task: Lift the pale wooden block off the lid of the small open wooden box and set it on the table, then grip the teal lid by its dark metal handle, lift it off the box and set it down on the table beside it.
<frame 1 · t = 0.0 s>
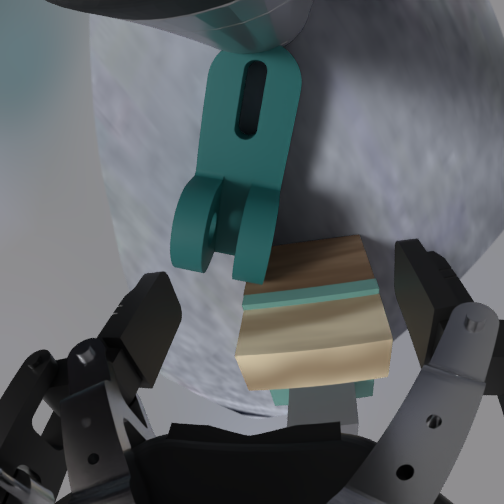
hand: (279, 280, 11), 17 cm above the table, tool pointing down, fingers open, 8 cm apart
pale wooden block: (314, 322, 23), point 8 cm above the table, touching lid
bracket: (246, 147, 25), on the table, touching arm, open wooden box
open wooden box: (314, 299, 33), on the table
lid: (318, 349, 27), point 7 cm above the table, touching pale wooden block, open wooden box
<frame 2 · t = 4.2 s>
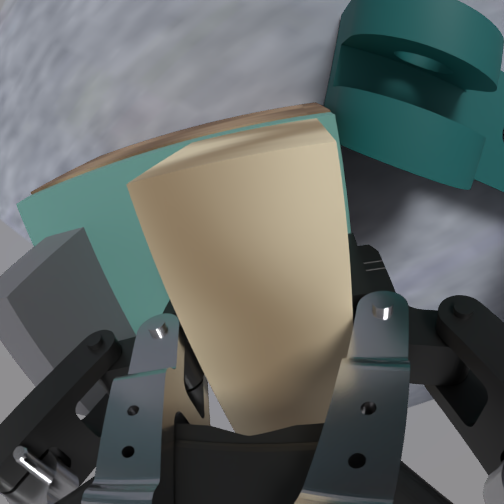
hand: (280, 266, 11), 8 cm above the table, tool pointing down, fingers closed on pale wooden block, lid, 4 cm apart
pale wooden block: (281, 267, 12), point 8 cm above the table, touching gripper, lid
bracket: (468, 117, 15), on the table, touching arm, open wooden box
open wooden box: (215, 204, 20), on the table
lid: (181, 264, 14), point 7 cm above the table, touching gripper, pale wooden block, open wooden box
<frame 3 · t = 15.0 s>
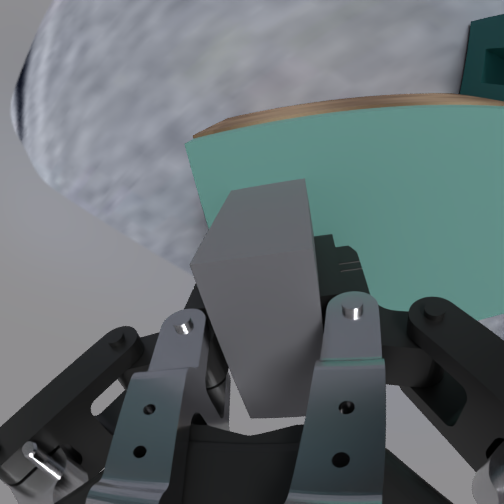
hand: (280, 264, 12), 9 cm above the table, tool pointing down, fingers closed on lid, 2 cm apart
open wooden box: (358, 179, 18), on the table
lid: (389, 230, 12), point 7 cm above the table, touching gripper, open wooden box
when the fingers open (4 cm above the table, at t = 22.0 s): lid drops 1 cm, point 1 cm above the table.
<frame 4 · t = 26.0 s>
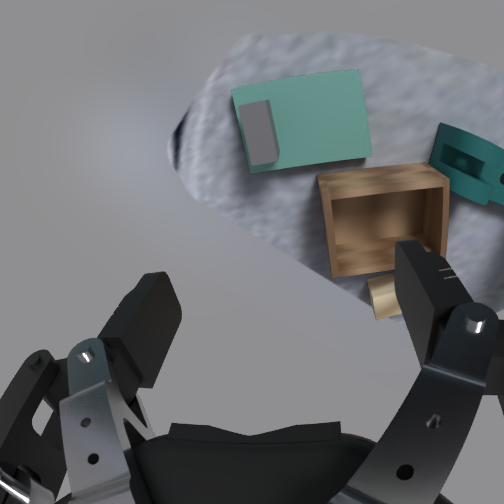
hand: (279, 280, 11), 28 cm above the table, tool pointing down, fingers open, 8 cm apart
pale wooden block: (400, 281, 42), on the table
bracket: (485, 169, 32), on the table, touching arm, open wooden box
open wooden box: (376, 206, 37), on the table
lid: (303, 119, 33), point 1 cm above the table
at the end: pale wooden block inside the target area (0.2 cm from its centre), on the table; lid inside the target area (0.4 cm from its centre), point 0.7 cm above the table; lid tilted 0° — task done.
